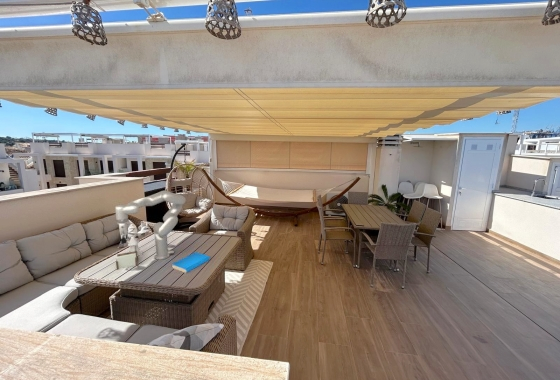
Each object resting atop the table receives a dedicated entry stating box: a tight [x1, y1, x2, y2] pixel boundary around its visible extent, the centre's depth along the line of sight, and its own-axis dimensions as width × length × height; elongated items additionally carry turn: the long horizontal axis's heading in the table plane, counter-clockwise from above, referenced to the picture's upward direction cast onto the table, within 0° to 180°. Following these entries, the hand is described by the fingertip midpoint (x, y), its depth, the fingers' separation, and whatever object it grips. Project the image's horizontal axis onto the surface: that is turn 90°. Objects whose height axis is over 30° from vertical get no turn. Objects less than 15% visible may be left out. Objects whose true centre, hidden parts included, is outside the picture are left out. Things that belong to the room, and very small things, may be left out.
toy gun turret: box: [126, 234, 144, 256], centre depth 202 cm, size 12×13×18 cm
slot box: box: [115, 251, 139, 271], centre depth 187 cm, size 14×15×7 cm
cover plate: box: [115, 253, 136, 270], centre depth 182 cm, size 13×2×10 cm, turn 122°
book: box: [171, 251, 211, 274], centre depth 190 cm, size 17×4×25 cm
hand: (124, 241), depth 179 cm, fingers open, 9 cm apart
